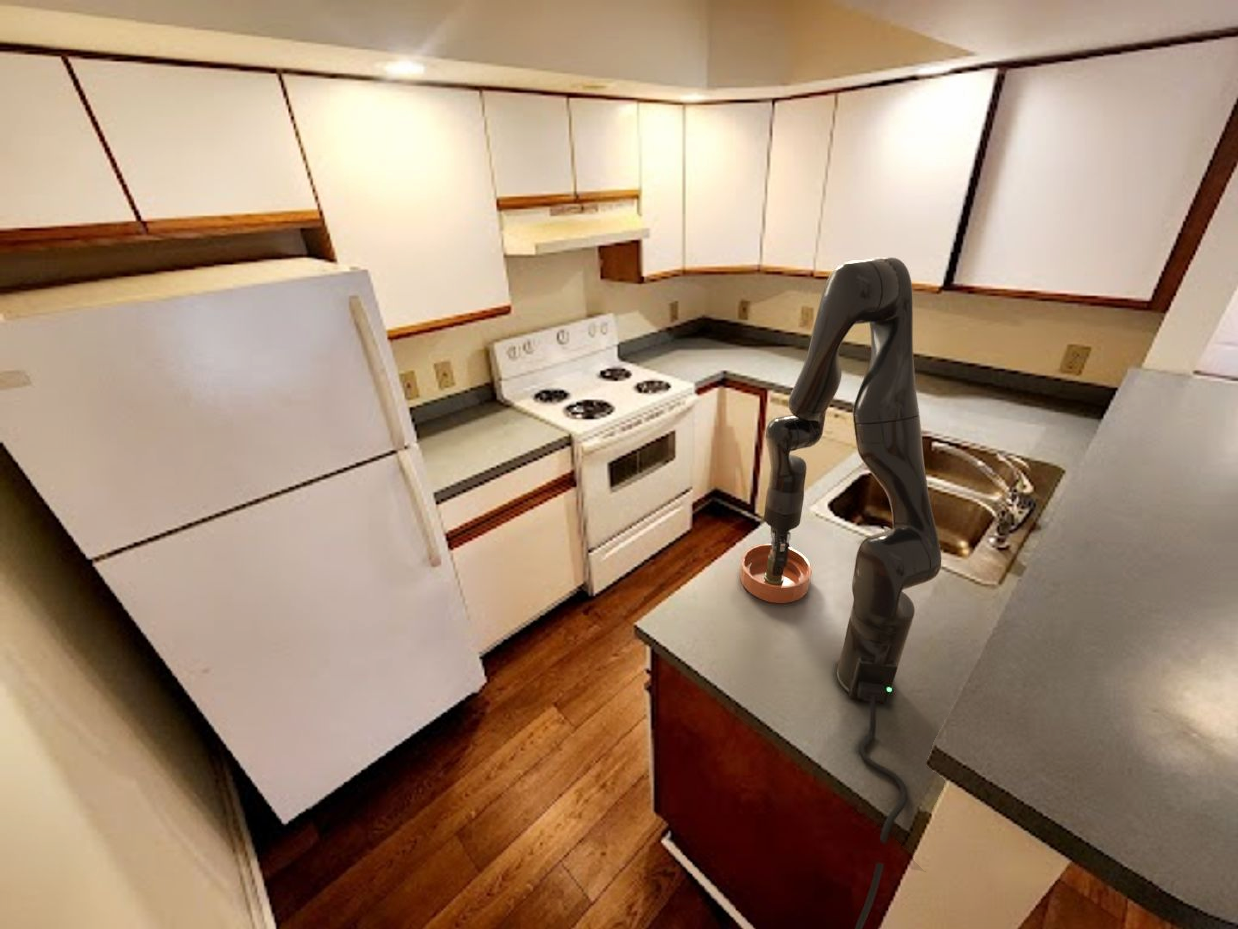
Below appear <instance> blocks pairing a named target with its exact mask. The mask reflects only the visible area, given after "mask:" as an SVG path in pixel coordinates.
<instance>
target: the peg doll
mask: <svg viewBox="0 0 1238 929" xmlns="http://www.w3.org/2000/svg"><path fill="white" fill-rule="evenodd" d="M775 548H776V547H775ZM773 559H774V552H773V551H772V549H771V550H770V554H769V555H768V563H767V571H766V573H765V574H764V580H765V581H766V582H767V583H768V584H771V585H780V584H782V583H783V581H784V576H783V575H782V576H774V575H773V574H772V570H773Z"/></svg>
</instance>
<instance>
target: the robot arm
mask: <svg viewBox="0 0 1238 929" xmlns="http://www.w3.org/2000/svg"><path fill="white" fill-rule="evenodd" d="M913 295H914V294H913V283H912V278H911V274H910V272H909V269H908V267H907V266H906V264H905V263H904V262H903V261H902V260H901V259H899V258H897V257H891V256H886V257H875V258H868V259H867V258H866V259H858V260H851V261H848V262H844V263H843V262H842V263H841V264H840V265H838V266H837V267H835V268H834V269H833V271H831V273H830V274H829V277H828V278H827V281H826V283H825V285H824V288H823V291H822V294H821V297H820V301H819V305H818V309H817V313H816V318H815V322H814V324H813V329H812V333H811V337H810V341H809V346H808V350H807V353H806V357H805V360H804V363H803V366H802V368H801V371H800V373H799V375H798V377H797V379H796V381H795V384H794V386H793V388H792V390H791V393H790V395H789V397H788V401H787V406H788V410H789V412H790V413H791V414H789V415H784V416H778V417H774V418H773V419H772V420H770V421H769V422H768V424H767V426H766V428H765V432H764V437H765V442H766V447H767V452H768V458H769V464H770V470H769V478H768V479H769V480H768V485H767V490H766V495H765V502H764V503H765V504H764V514H763V520H764V522H765V523H766V524H767V525H768V526H769V527H770V538H771V543H770V544H771V549H772V551H773V552H774V559H773V570H772V574H773V575H774V576H782V575H783V570H784V567H786V565H787V557H788V551H789V547H790V540H791V530H793V529H796V528H798V527H799V526H800V524H801V519H802V514H803V513H802V512H803V506H804V499H805V484H806V477H807V470H808V468H807V467H808V466H807V462H806V460H805V459H804V458H802V457H801V456H798V455H794V454H791V452H794V451H799V450H804V449H808V448H811V447H813V446H815V445H816V444H818V442H820V440H821V439H822V436H823V433H824V428H825V427H824V426H825V421H826V416H827V410H828V409H829V407H830V405H831V403H832V401H833V399H834V398H835V397H836V394H837V392H838V390H839V387H840V385H841V381H842V373H843V372H842V365H841V359H840V348H841V345H842V343H843V342H844V340H845V338H846V336H847V334H848V333H849V332H850V331H851V329H852V328H853V327H854V325H862V324H863V325H864V324H869V331H870V347H871V351H870V358H869V363H868V366H867V370H866V372H865V374H864V377H863V380H862V381H861V385H860V387H859V389H858V391H857V395H856V397H855V401H854V404H853V409H852V422H853V430H854V439H855V446H856V450H857V453H858V456H859V458H860V460H861V461H862V463H863V465H864V466H865V467H866V469H867V470H868V472H870V474H871V476H873V477H874V479H875V480H876V481H877V483H878V484H879V485H880V486H881V488H882V489H883V491H884V493H885V494H886V497H887V499H888V502H889V506H890V510H891V518H892V530H889V531H886V532H885V531H882V532H879V533H876V534H872V535H869V536H867V537H865V538H864V539H862V540H863V541H862V540H861V543H860V544H859V547H858V549H857V552H856V555H855V556H856V557H855V561H854V562H855V563H854V570H853V575H852V576H853V577H852V582H851V591H852V596H853V600H852V601H853V602H852V606H851V611H850V615H849V618H848V623H847V628H846V631H845V636H844V640H843V644H842V648H841V652H840V656H839V657H840V658H839V662H838V665H837V668H836V679H837V680H838V683H839V685H840V686H841V687H842V688H843V690H844V691H846V692H847V693H848V695H849V696H848V697H849V699H851V700H858V701H865V702H869V713H870V714H869V730H868V735H867V737H866V738H865V739H864V740H863V741H862V742H861V743H860V745H859V747H858V752H859V754H860V755H859V756H860V757H861V758H862V760H863V761H864V763H865V764H867V765H868V766H869V767H871V768H872V769H874V770H876V771H878V772H879V773H881V774H884V775H885V776H888V777H889V778H891V779H893V781H894V782H895V783H896V784H897V786H898V788H899V791H900V798H899V801H898V802H897V804H896V805H895V807H894V808H893V809H892V811H891V812H890V813H889V814H888V816H887V818H886V819H885V821H884V822H883V826H882V828H881V832H880V837H879V840H880V842H881V843H882V844H886V843H887V842H888V837H889V833H890V830H891V827H892V825H893V824H894V822H895V820H896V819H897V818H898V816H900V814H901V813H902V812H903V810H904V808H905V807H906V804H907V802H908V792H907V789H906V785H905V784H904V781H903V780H902V779H901V777H900V776H898V775H897V774H896V773H895V772H893V771H892V770H890V769H888V768H886V767H885V766H882V765H881V764H879V763H877V762H875V761H874V760H872V759H871V758H870V757H869V756H868V755H867V753H866V749H867V747H868V746H869V745H870V744H871V743H872V742H873V741H874V738H875V736H876V728H877V727H876V726H877V708H876V707H877V706H876V703H881V704H888V701H889V697H890V695H891V693H892V691H893V690H892V689H893V684H894V682H895V678H896V675H897V672H898V669H899V665H900V661H901V658H902V656H903V653H904V649H905V645H906V642H907V639H908V636H909V634H910V630H911V627H912V624H913V620H914V617H915V609H916V608H915V604H914V602H913V601H912V599H911V598H910V596H908V594H906V593H905V592H904V591H903V590H906V589H910V588H912V587H915V586H918V585H922V584H925V583H927V582H930V581H932V580H933V579H935V578H936V577H937V576H938V574H939V572H940V571H941V567H942V550H941V544H940V539H939V535H938V531H937V527H936V526H937V525H936V521H935V517H934V512H933V509H932V504H931V498H930V494H929V488H928V481H927V475H926V474H927V473H926V468H925V467H926V466H925V459H924V450H923V434H922V427H921V417H920V416H921V415H920V409H919V402H918V396H917V395H918V394H917V387H916V386H917V385H916V374H915V372H916V371H915V362H914V361H915V360H914V341H913V340H914V339H913V338H914V337H913V336H914V335H913V334H914V332H913V330H914V328H913V326H914V323H913V322H914V296H913ZM775 547H776V548H775ZM883 870H884V863H882V862H876V865H875V869H874V873H873V877H872V881H871V884H870V888H869V891H868V893H867V897H866V899H865V902H864V905H863V908H862V910H861V912H860V914H859V916H858V917H859V918H858V919H857V922H856V925H855V927H854V929H863V928H864V925H865V923H866V920H867V918H868V916H869V913H870V911H871V908H872V906H873V904H874V900H875V897H876V895H877V892H878V888H879V884H880V881H881V877H882V874H883Z"/></svg>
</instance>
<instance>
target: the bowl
mask: <svg viewBox="0 0 1238 929" xmlns="http://www.w3.org/2000/svg"><path fill="white" fill-rule="evenodd" d="M770 550H771V543H763V544H756V545H754V546H751V547H750V548H748V549H747V550H746V551H745V552H744V553H743V555H742V556H741V563H740V581H741V584H742V586H743V588H745V589H746V590H747V591H748V592H749V593H750V594H751V595H753V596H754V597H756V598H758V599H759V600H763V601H765V602H768V603H775V604H776V603H777V604H786V603H787V604H788V603H793V602H795V601H798V600H801V599H802V598H803V597H804V596H805V595H806V594H807V593H808V590H809V588H810V584H811V578H812V574H813V573H812V572H813V571H812V564H811V563H810V561H809V560H808V558H807V557H806V556H805V555H803V554H802V553H801V552H800V551H798V550H796V549H794V548H793V547H790V546H789V551H788V557H787V565H786V567H784V570H783V576H784V581H783V583H782V584H780V585H771V584H768V583H767V582H766V581H765V580H764V574H765V573H766V571H767V563H768V555H769V554H770Z"/></svg>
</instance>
